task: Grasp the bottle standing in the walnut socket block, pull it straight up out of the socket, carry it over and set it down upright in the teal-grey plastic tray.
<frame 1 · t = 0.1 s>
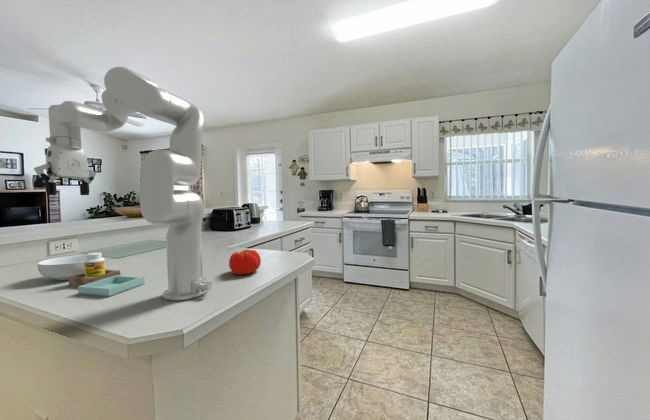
hand: (69, 195, 91), 31 cm above the counter, fingers open, 9 cm apart
tomato: (244, 273, 104), on the counter
cereal bowl: (71, 277, 102), on the counter
supplement bottle: (95, 282, 95), resting in socket block
socket block: (95, 281, 95), on the counter
tray: (113, 289, 87), on the counter
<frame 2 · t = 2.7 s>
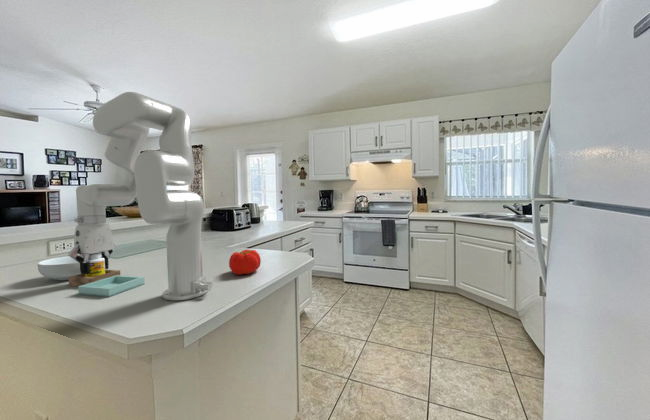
hand: (95, 270, 95), 4 cm above the counter, fingers closed on supplement bottle, 5 cm apart
supplement bottle: (95, 282, 95), resting in socket block, touching gripper
everything else where it was.
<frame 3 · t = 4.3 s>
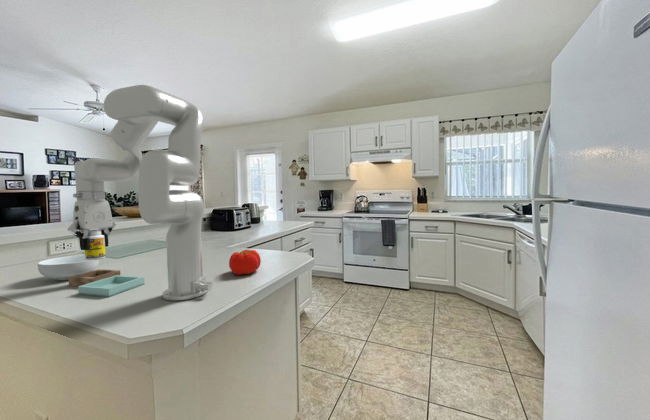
hand: (95, 247, 94), 12 cm above the counter, fingers closed on supplement bottle, 5 cm apart
supplement bottle: (95, 259, 95), point 8 cm above the counter, touching gripper
everything else where it was.
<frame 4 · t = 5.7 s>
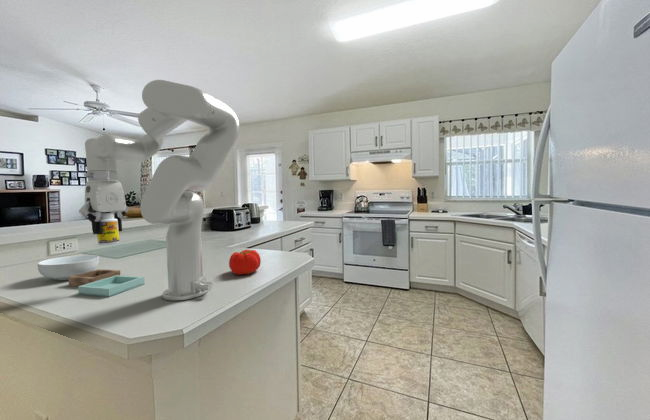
hand: (108, 232, 88), 19 cm above the counter, fingers closed on supplement bottle, 5 cm apart
supplement bottle: (109, 244, 88), point 14 cm above the counter, touching gripper
everything else where it was.
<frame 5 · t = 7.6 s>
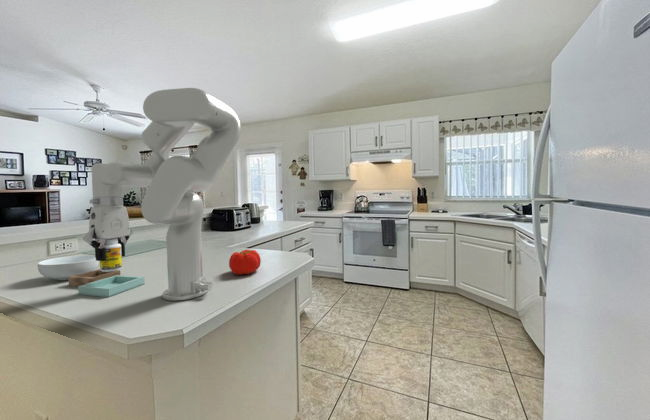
hand: (111, 257, 87), 10 cm above the counter, fingers closed on supplement bottle, 5 cm apart
supplement bottle: (111, 270, 87), point 6 cm above the counter, touching gripper
everything else where it was.
when the fingers open (6 cm above the counter, at t = 8.9 s): supplement bottle drops 1 cm, resting on tray.
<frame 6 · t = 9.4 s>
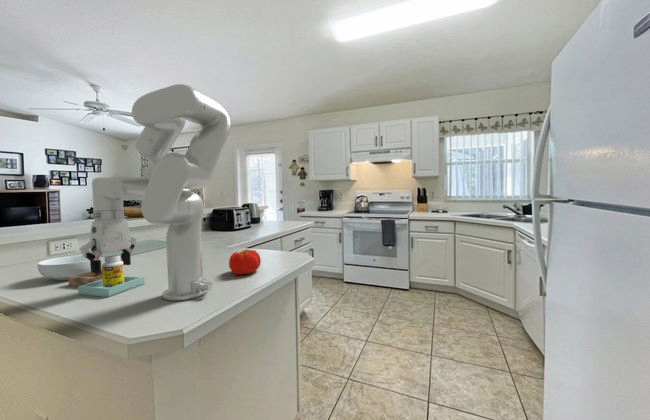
hand: (112, 268, 87), 7 cm above the counter, fingers open, 9 cm apart
supplement bottle: (114, 287, 87), resting on tray
everything else where it was.
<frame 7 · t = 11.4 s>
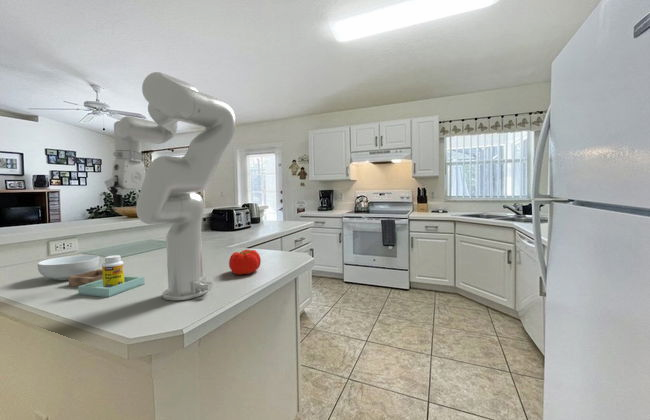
hand: (130, 205, 96), 27 cm above the counter, fingers open, 9 cm apart
nothing on the counter moved.
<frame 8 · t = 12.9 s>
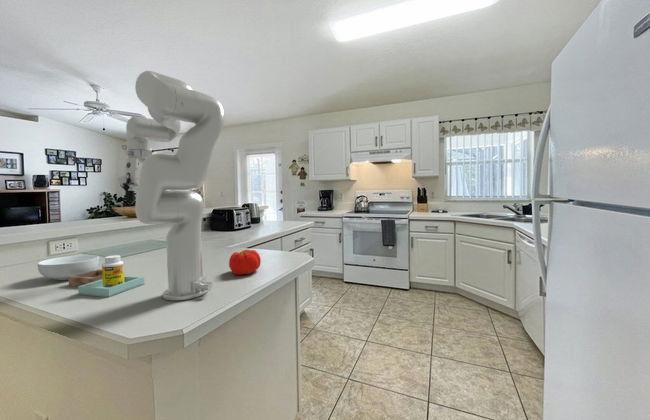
hand: (142, 201, 101), 28 cm above the counter, fingers open, 9 cm apart
nothing on the counter moved.
at the end: supplement bottle inside the target area on the tray (0.3 cm from its centre), point 0.3 cm above the tray's base; supplement bottle tilted 0°; the gripper is holding nothing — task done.
